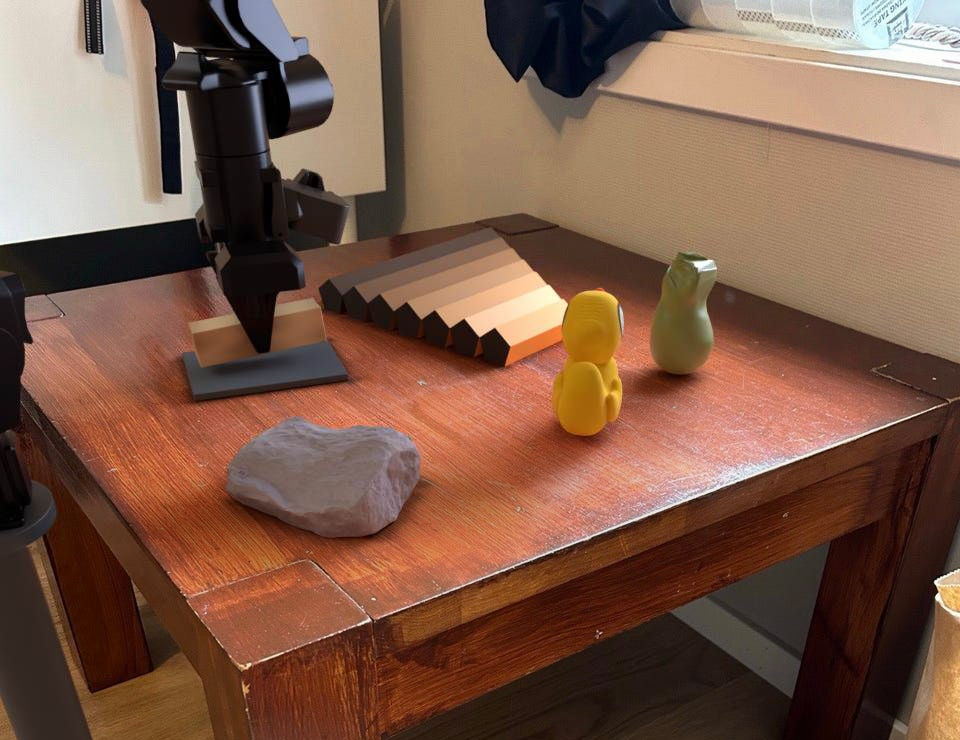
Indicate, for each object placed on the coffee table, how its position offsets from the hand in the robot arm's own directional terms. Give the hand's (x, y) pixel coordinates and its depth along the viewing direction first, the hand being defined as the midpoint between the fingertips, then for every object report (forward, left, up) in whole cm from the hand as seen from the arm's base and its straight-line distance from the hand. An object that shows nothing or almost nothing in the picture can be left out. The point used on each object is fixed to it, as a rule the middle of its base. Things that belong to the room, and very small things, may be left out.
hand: (260, 346), depth 84 cm
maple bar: (0, 0, 0) cm, 0 cm away
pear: (+34, -13, -2) cm, 36 cm away
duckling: (+22, -20, -2) cm, 30 cm away
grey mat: (0, 0, -2) cm, 2 cm away
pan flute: (+25, +10, -2) cm, 27 cm away
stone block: (0, -25, -2) cm, 25 cm away
